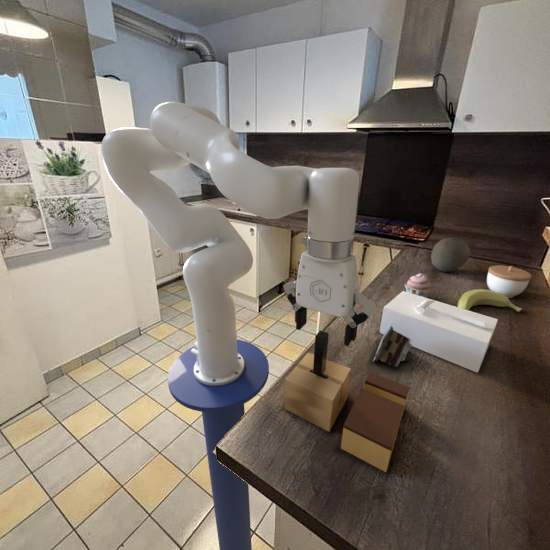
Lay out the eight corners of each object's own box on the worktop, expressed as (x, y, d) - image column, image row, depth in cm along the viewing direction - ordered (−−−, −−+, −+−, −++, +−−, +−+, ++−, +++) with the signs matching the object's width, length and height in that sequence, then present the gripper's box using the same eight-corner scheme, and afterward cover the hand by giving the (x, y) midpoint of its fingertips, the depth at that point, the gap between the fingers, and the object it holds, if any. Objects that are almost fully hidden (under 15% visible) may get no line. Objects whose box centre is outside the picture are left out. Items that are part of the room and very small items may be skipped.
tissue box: (398, 314, 96) (404, 284, 92) (488, 346, 80) (500, 311, 76) (379, 332, 86) (384, 300, 82) (477, 372, 71) (491, 335, 66)
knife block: (284, 409, 60) (285, 379, 57) (306, 379, 68) (307, 352, 65) (329, 432, 56) (332, 400, 52) (347, 397, 63) (351, 368, 60)
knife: (308, 403, 62) (312, 334, 55) (312, 397, 63) (317, 329, 57) (321, 410, 60) (327, 339, 53) (325, 402, 62) (331, 334, 55)
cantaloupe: (449, 278, 122) (458, 244, 117) (421, 267, 134) (428, 236, 128) (471, 273, 128) (480, 240, 122) (442, 263, 140) (449, 232, 134)
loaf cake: (340, 448, 52) (343, 424, 50) (358, 410, 60) (361, 388, 58) (386, 472, 49) (391, 448, 46) (398, 428, 56) (404, 405, 54)
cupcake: (397, 297, 107) (402, 272, 103) (410, 290, 113) (415, 266, 109) (422, 307, 101) (428, 280, 97) (434, 299, 106) (441, 273, 102)
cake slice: (361, 402, 62) (365, 380, 60) (365, 393, 65) (369, 371, 62) (401, 419, 58) (406, 396, 56) (404, 409, 61) (409, 387, 58)
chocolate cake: (400, 377, 70) (422, 333, 72) (373, 361, 72) (394, 319, 74) (393, 377, 78) (412, 338, 81) (368, 362, 81) (388, 325, 83)
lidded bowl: (474, 288, 114) (482, 262, 110) (498, 284, 117) (507, 259, 113) (505, 303, 103) (516, 274, 99) (531, 298, 106) (542, 271, 102)
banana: (457, 280, 104) (521, 293, 99) (451, 291, 107) (512, 305, 103) (464, 305, 93) (535, 322, 89) (456, 317, 97) (525, 334, 93)
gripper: (273, 244, 50) (274, 329, 56) (376, 262, 41) (363, 360, 48) (295, 235, 55) (293, 313, 62) (388, 249, 47) (375, 338, 53)
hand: (324, 333), depth 55 cm, fingers open, 9 cm apart
